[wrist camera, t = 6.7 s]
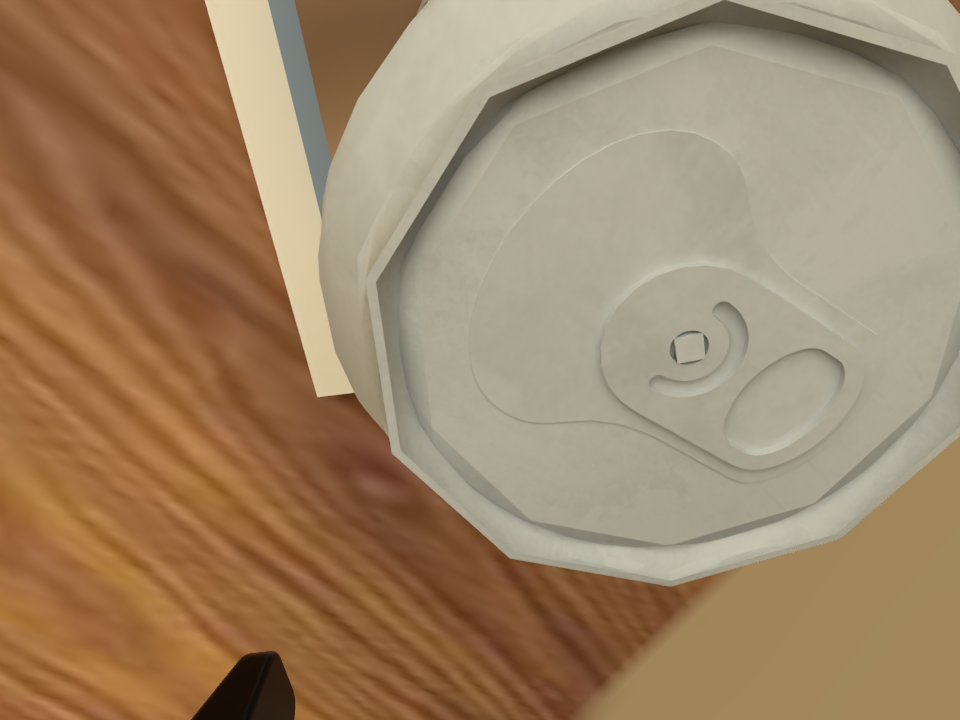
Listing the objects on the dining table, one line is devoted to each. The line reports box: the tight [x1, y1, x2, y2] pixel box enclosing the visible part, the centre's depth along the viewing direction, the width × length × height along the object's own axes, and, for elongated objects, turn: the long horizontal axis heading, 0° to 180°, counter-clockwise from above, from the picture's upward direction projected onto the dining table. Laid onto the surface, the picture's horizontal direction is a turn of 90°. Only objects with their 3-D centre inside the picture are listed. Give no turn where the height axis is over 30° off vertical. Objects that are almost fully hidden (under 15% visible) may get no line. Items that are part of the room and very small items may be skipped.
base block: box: [295, 0, 422, 162], centre depth 16 cm, size 9×9×2 cm
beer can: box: [318, 0, 960, 587], centre depth 10 cm, size 5×5×12 cm
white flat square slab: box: [205, 0, 354, 397], centre depth 18 cm, size 16×14×1 cm
